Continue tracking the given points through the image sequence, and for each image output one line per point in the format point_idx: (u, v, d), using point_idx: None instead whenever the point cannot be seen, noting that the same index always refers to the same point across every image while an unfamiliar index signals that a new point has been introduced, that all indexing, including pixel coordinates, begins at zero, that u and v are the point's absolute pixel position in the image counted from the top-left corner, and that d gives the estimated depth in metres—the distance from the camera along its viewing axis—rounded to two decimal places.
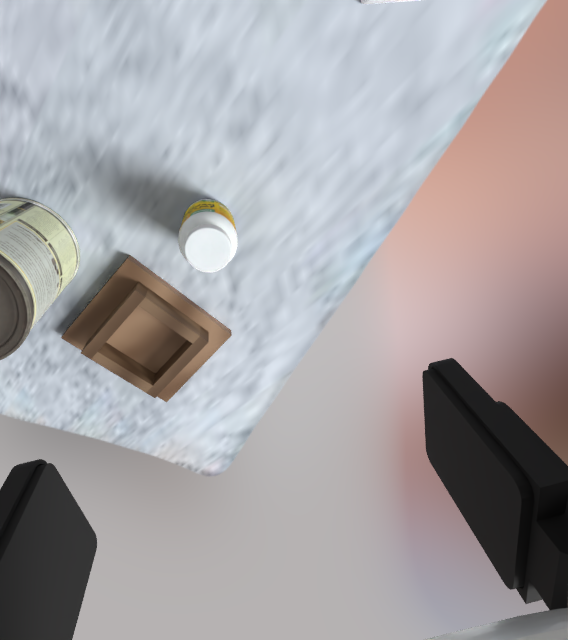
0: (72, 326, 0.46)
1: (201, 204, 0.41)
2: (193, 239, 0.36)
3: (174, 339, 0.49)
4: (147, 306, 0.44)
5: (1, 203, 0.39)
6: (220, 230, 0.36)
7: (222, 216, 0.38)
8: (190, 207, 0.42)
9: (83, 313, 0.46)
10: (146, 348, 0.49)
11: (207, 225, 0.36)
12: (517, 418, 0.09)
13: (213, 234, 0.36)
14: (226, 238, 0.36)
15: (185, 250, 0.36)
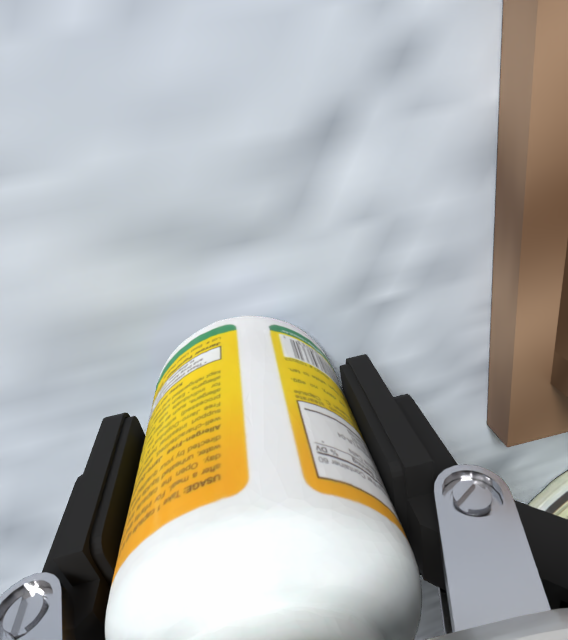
0: None
1: None
2: None
3: None
4: None
5: None
6: None
7: None
8: None
9: None
10: None
11: None
12: (417, 408, 0.10)
13: None
14: None
15: None
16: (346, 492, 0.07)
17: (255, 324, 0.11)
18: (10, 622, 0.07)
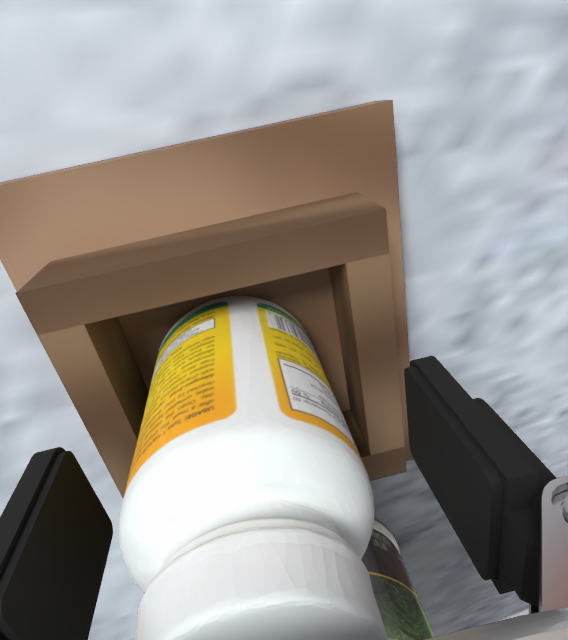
0: None
1: None
2: None
3: (180, 305, 0.14)
4: None
5: None
6: None
7: None
8: None
9: None
10: None
11: None
12: (493, 413, 0.09)
13: None
14: None
15: None
16: (313, 421, 0.09)
17: (244, 302, 0.13)
18: None
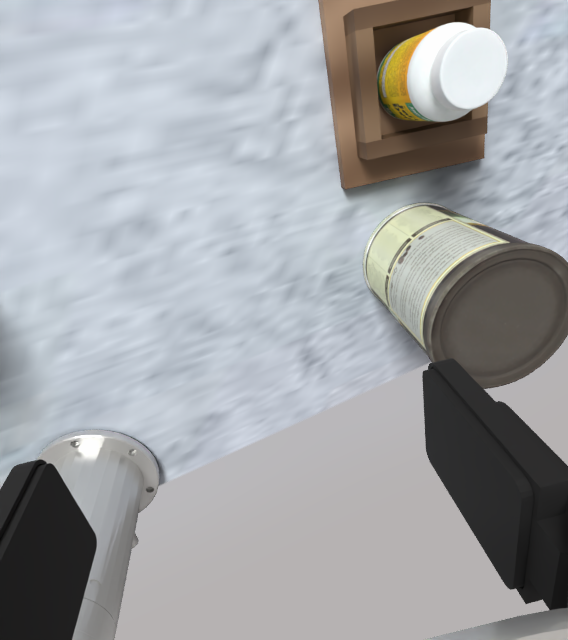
0: (462, 161, 0.36)
1: (403, 116, 0.31)
2: (474, 100, 0.25)
3: (389, 45, 0.31)
4: (373, 129, 0.31)
5: None
6: (438, 82, 0.24)
7: (409, 90, 0.27)
8: None
9: (438, 166, 0.36)
10: None
11: (443, 101, 0.25)
12: (516, 418, 0.09)
13: (451, 85, 0.24)
14: (443, 65, 0.24)
15: (493, 94, 0.25)
16: None
17: None
18: None
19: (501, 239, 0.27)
